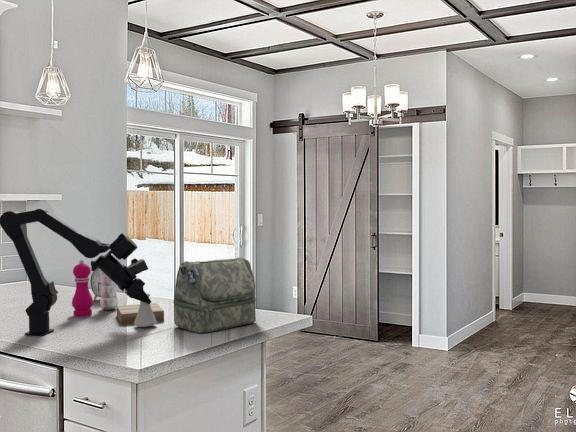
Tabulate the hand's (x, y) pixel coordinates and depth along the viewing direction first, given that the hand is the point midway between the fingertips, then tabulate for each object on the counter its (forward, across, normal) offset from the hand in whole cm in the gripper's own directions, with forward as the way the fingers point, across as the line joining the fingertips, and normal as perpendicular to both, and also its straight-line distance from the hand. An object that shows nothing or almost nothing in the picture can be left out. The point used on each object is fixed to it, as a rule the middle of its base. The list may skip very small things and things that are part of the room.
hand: (149, 302), depth 200 cm
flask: (+4, 0, +6) cm, 8 cm away
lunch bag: (+20, -8, -8) cm, 23 cm away
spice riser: (+5, +15, +6) cm, 17 cm away
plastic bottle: (+1, +37, +11) cm, 39 cm away
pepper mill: (-6, +30, +18) cm, 36 cm away
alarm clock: (+2, +61, +10) cm, 61 cm away
